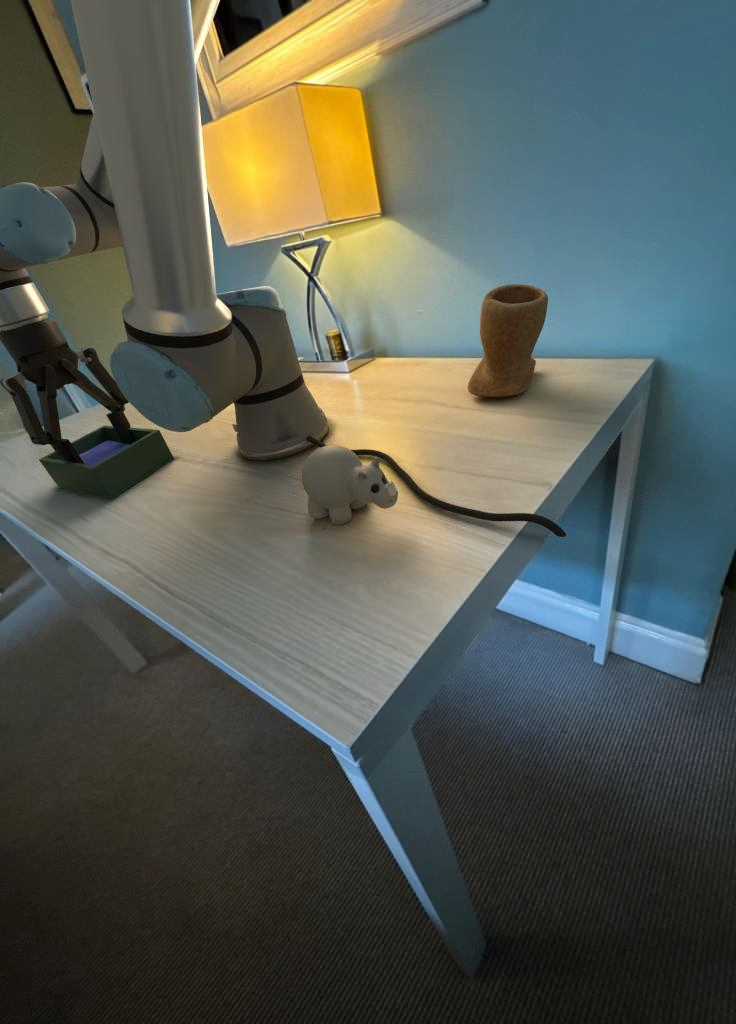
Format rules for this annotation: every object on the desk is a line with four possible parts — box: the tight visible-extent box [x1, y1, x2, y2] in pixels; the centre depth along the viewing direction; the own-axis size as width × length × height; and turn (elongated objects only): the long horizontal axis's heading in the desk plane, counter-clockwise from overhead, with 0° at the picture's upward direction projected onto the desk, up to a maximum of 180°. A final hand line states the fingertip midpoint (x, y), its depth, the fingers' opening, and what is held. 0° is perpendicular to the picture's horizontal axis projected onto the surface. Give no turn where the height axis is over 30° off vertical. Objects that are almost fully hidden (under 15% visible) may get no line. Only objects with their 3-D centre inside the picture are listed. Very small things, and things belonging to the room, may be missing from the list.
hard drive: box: [79, 440, 129, 466], centre depth 75 cm, size 2×8×12 cm
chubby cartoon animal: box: [301, 444, 399, 525], centre depth 49 cm, size 7×12×8 cm, turn 55°
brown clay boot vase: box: [467, 283, 549, 398], centre depth 69 cm, size 15×12×15 cm
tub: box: [38, 425, 175, 500], centre depth 75 cm, size 17×13×6 cm
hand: (109, 460), depth 75 cm, fingers closed on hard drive, 8 cm apart
